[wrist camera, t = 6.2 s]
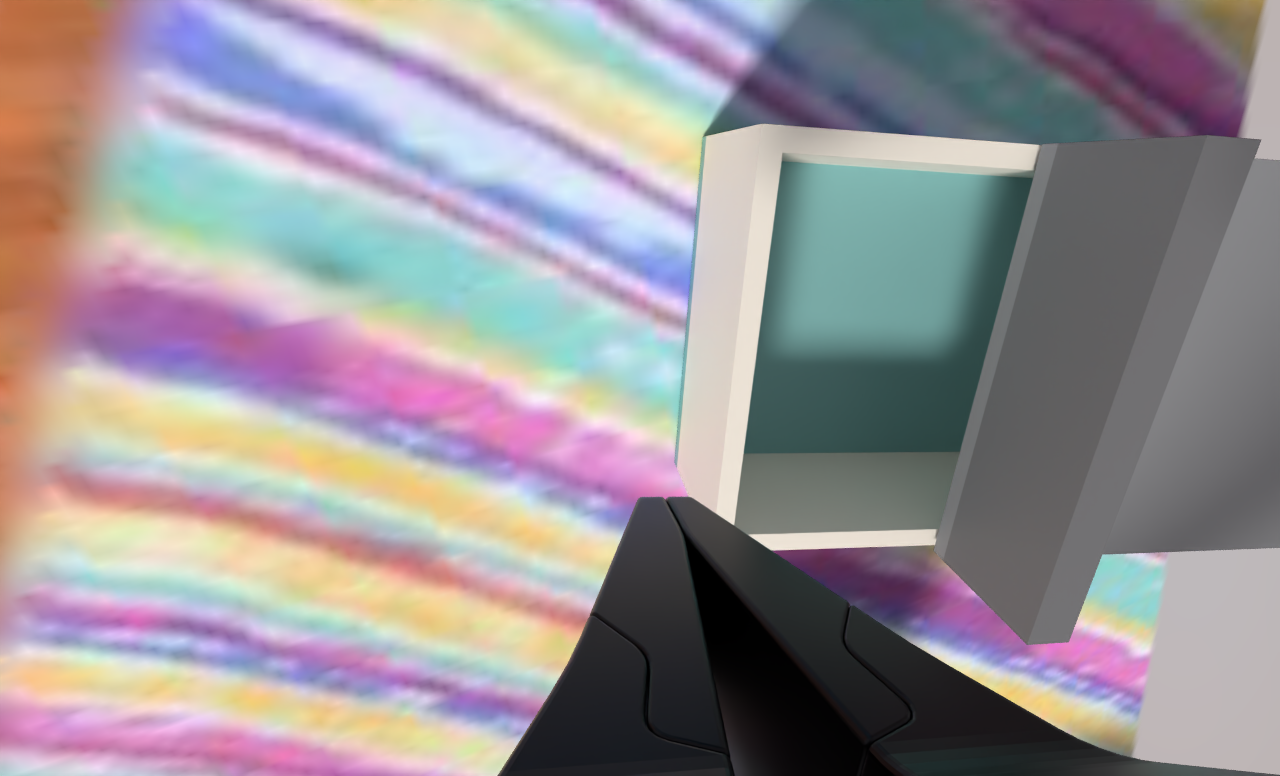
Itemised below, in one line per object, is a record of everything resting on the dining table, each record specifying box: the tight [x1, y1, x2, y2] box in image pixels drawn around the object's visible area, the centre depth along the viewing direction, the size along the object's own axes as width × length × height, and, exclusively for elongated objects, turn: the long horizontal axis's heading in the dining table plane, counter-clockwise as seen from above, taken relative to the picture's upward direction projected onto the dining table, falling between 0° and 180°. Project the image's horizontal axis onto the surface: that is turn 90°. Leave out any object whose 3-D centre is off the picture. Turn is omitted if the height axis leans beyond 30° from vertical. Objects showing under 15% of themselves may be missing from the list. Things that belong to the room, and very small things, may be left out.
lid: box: [934, 135, 1280, 645], centre depth 16 cm, size 12×14×4 cm
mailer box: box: [675, 124, 1042, 550], centre depth 20 cm, size 12×14×6 cm
